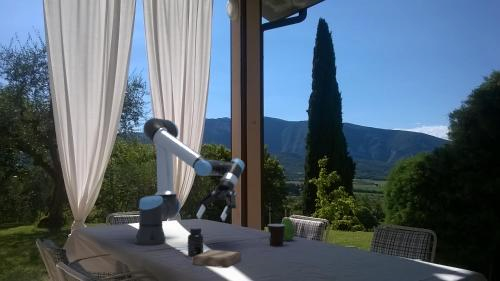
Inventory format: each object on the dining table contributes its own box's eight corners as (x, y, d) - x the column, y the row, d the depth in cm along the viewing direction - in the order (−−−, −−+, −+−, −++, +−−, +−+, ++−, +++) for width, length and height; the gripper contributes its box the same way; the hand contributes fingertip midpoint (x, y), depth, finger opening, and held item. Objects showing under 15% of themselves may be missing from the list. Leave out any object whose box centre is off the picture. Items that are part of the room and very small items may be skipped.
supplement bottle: (188, 254, 194) (188, 227, 195) (203, 254, 195) (203, 227, 196) (187, 257, 187) (187, 229, 188) (203, 257, 188) (203, 229, 189)
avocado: (277, 239, 234) (277, 217, 235) (290, 238, 237) (290, 216, 238) (284, 242, 227) (284, 219, 227) (297, 241, 230) (297, 218, 230)
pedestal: (192, 264, 174) (192, 256, 175) (208, 257, 189) (208, 249, 189) (227, 267, 169) (227, 258, 170) (240, 259, 184) (241, 251, 184)
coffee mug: (283, 247, 213) (283, 226, 213) (266, 246, 214) (266, 225, 215) (286, 243, 224) (286, 223, 225) (270, 242, 226) (270, 222, 226)
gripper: (252, 190, 211) (236, 225, 197) (209, 188, 224) (191, 221, 210) (246, 179, 207) (229, 214, 193) (203, 178, 219) (184, 211, 205)
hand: (209, 218), depth 201 cm, fingers open, 13 cm apart
